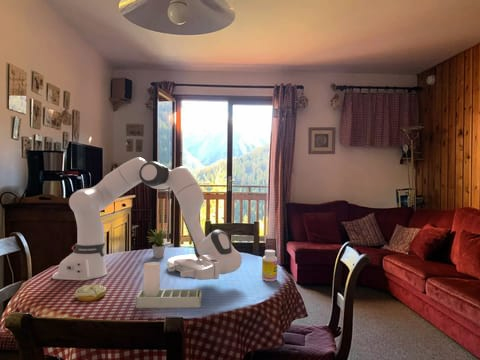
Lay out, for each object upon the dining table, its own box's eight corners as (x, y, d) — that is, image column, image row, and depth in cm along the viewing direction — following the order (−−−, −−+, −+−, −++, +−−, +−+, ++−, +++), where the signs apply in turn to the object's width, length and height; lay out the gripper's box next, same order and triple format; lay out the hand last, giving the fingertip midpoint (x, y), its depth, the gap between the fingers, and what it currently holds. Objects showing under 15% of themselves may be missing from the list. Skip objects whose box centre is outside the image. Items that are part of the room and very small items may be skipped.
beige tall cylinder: (141, 303, 128) (142, 265, 128) (144, 297, 133) (145, 262, 133) (158, 303, 128) (158, 265, 128) (160, 297, 134) (160, 262, 134)
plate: (179, 251, 197) (228, 254, 192) (179, 263, 197) (227, 267, 191) (158, 257, 170) (213, 261, 164) (157, 271, 169) (213, 276, 164)
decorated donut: (69, 302, 131) (69, 291, 131) (82, 292, 142) (82, 283, 142) (99, 302, 131) (99, 292, 131) (109, 293, 142) (109, 283, 142)
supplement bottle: (274, 282, 159) (275, 252, 158) (260, 280, 161) (260, 251, 161) (278, 278, 165) (279, 249, 165) (264, 276, 167) (264, 248, 167)
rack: (136, 307, 126) (136, 297, 126) (141, 298, 135) (141, 289, 135) (200, 307, 128) (200, 297, 127) (201, 298, 136) (201, 289, 136)
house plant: (146, 253, 211) (147, 225, 211) (171, 253, 213) (171, 225, 213) (143, 259, 197) (143, 228, 197) (169, 259, 199) (169, 228, 198)
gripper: (192, 253, 153) (162, 258, 144) (221, 263, 137) (188, 268, 128) (192, 268, 153) (162, 274, 144) (221, 279, 137) (188, 286, 128)
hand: (174, 271), depth 136 cm, fingers open, 8 cm apart
